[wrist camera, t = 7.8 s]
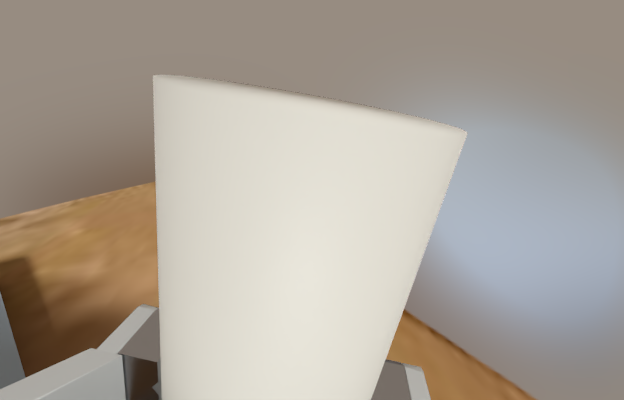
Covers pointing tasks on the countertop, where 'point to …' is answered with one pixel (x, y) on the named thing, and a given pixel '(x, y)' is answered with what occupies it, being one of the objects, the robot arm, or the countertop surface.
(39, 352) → the countertop surface
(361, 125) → the dowel pin
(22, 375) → the tray
